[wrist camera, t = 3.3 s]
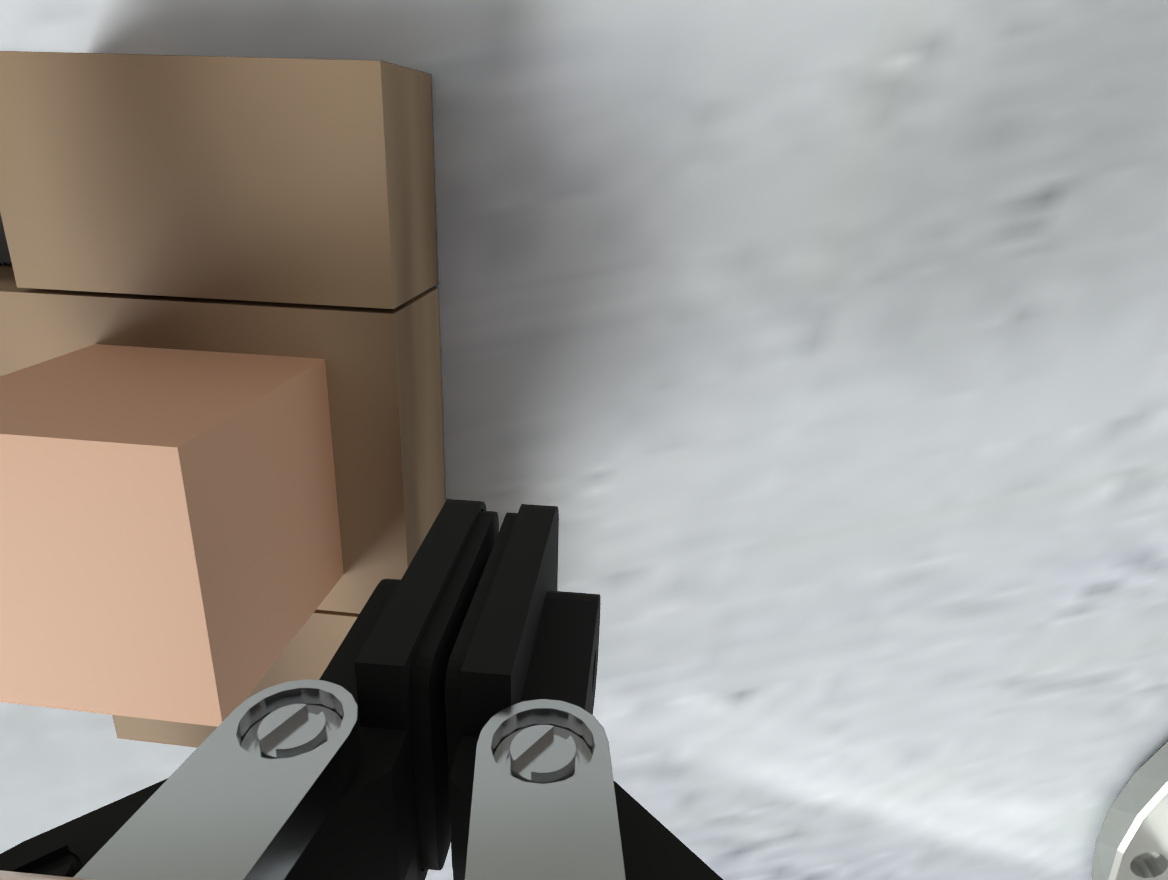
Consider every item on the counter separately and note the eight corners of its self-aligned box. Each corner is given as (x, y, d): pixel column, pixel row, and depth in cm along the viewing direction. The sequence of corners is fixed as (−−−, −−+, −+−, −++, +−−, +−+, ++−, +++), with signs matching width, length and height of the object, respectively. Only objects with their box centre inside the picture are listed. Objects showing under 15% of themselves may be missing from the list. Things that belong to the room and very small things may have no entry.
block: (324, 359, 16) (177, 447, 11) (343, 574, 18) (223, 726, 13) (95, 343, 16) (-137, 423, 12) (135, 555, 18) (-52, 696, 14)
